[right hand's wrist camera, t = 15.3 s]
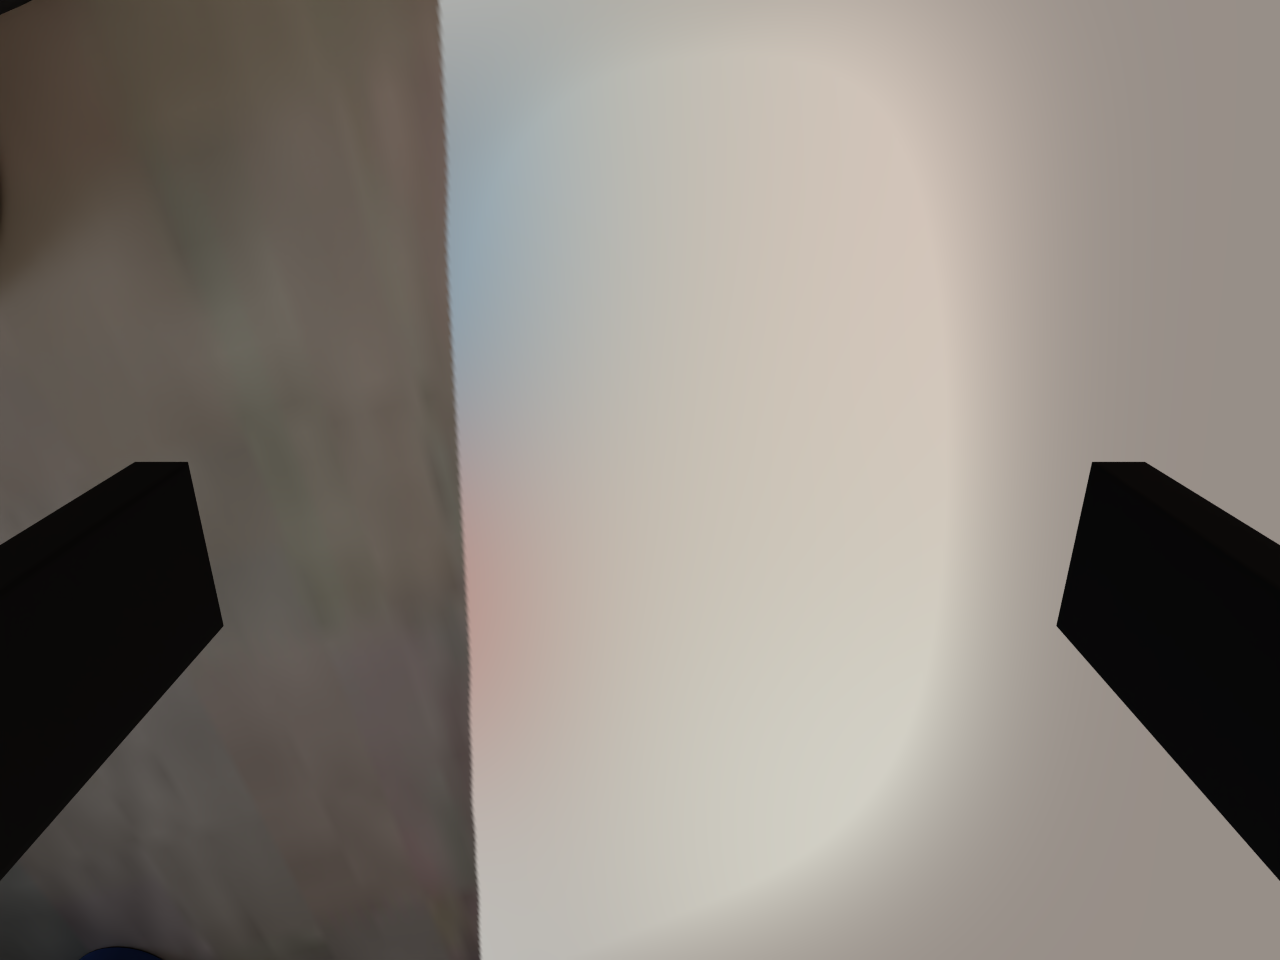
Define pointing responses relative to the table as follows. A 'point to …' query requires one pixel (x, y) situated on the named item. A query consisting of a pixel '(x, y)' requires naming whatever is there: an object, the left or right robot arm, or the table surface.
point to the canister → (119, 954)
